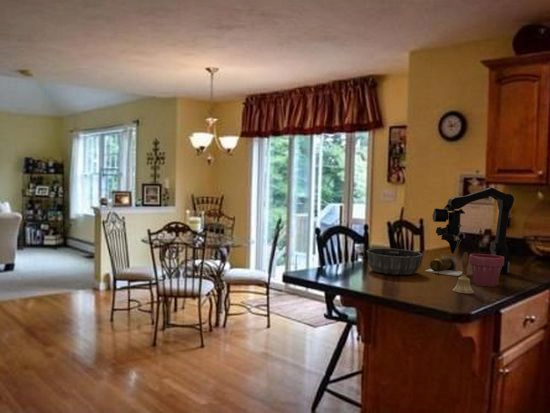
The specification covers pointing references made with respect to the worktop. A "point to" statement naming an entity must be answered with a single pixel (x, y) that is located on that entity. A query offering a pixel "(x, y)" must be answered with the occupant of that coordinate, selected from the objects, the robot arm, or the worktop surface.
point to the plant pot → (486, 268)
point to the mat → (445, 272)
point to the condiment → (444, 263)
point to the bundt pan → (394, 261)
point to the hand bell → (464, 278)
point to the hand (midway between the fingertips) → (452, 253)
